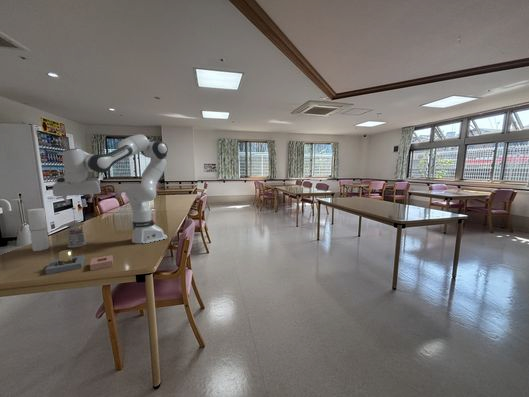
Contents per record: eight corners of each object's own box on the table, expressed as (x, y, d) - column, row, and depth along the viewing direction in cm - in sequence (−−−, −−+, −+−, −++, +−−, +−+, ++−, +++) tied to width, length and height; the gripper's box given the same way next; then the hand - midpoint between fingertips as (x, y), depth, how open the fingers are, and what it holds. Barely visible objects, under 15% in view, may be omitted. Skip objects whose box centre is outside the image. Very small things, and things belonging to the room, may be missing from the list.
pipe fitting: (75, 263, 116) (73, 248, 115) (73, 267, 111) (72, 252, 110) (60, 265, 113) (58, 250, 112) (58, 270, 108) (56, 254, 107)
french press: (90, 242, 149) (87, 206, 146) (74, 248, 137) (70, 209, 134) (77, 242, 150) (73, 206, 147) (60, 248, 138) (55, 209, 135)
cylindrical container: (30, 251, 132) (25, 210, 129) (35, 247, 138) (30, 208, 135) (46, 249, 135) (41, 209, 132) (50, 246, 141) (46, 208, 138)
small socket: (113, 260, 120) (112, 255, 119) (112, 266, 112) (112, 260, 112) (92, 264, 115) (91, 258, 114) (90, 270, 107) (90, 264, 107)
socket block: (84, 259, 121) (84, 255, 121) (81, 268, 110) (81, 263, 110) (52, 264, 114) (52, 260, 113) (46, 274, 103) (45, 269, 103)
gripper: (99, 177, 129) (102, 200, 131) (52, 178, 118) (56, 204, 120) (99, 177, 124) (102, 201, 126) (49, 179, 112) (54, 205, 115)
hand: (79, 203), depth 123 cm, fingers open, 8 cm apart
